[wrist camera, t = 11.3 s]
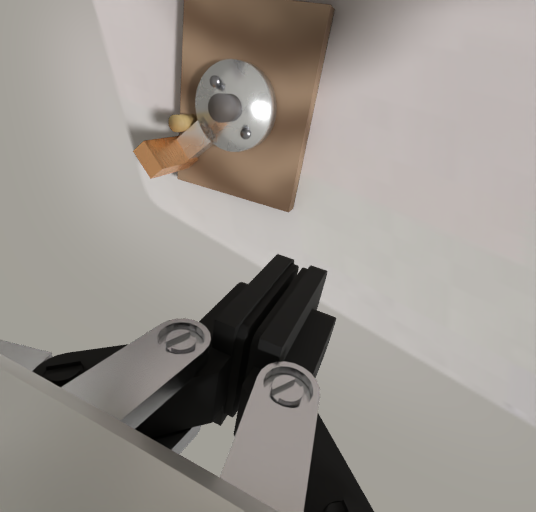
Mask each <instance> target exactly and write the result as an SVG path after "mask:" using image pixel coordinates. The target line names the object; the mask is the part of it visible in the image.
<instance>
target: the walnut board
mask: <svg viewBox="0 0 536 512" xmlns="http://www.w3.org/2000/svg"><path fill="white" fill-rule="evenodd" d="M334 10H335V9H334V8H333V7H332V6H331V5H329V4H320V3H311V2H303V1H294V0H184V16H183V44H182V71H181V98H180V115H172V116H170V118H169V127H170V129H171V130H172V131H174V132H179V136H181V135H182V134H183V133H184V132H185V131H186V130H187V129H188V128H190V127H191V126H192V125H193V124H194V123H195V122H196V121H197V120H198V119H197V115H196V108H195V98H196V91H197V87H198V85H199V82H200V80H201V78H202V76H203V75H204V73H205V72H206V71H207V70H208V69H209V68H210V67H211V66H212V65H214V64H215V63H217V62H219V61H222V60H226V59H236V60H241V61H245V62H248V63H251V64H253V65H255V66H256V67H258V68H259V69H260V70H262V71H263V72H264V74H265V75H266V76H267V77H268V79H269V80H270V82H271V84H272V86H273V89H274V92H275V96H276V103H277V112H276V118H275V123H274V125H273V128H272V130H271V132H270V134H269V135H268V136H267V138H266V139H265V140H264V141H263V142H262V143H261V144H259V145H258V146H256V147H254V148H252V149H248V150H244V151H240V152H230V151H226V150H223V149H221V148H219V147H217V146H216V145H214V144H213V145H212V146H211V147H209V148H208V149H207V150H206V151H204V152H203V153H202V154H201V155H200V156H198V157H197V158H198V161H197V162H195V163H194V164H193V165H192V166H190V167H189V168H187V169H184V170H180V171H178V179H180V180H183V181H186V182H190V183H193V184H196V185H200V186H203V187H206V188H210V189H213V190H216V191H220V192H223V193H226V194H230V195H233V196H236V197H240V198H243V199H246V200H249V201H253V202H256V203H259V204H263V205H266V206H269V207H273V208H276V209H279V210H283V211H286V212H289V211H291V210H292V209H293V207H294V202H295V197H296V192H297V187H298V183H299V178H300V173H301V168H302V163H303V159H304V154H305V149H306V144H307V139H308V135H309V130H310V125H311V120H312V115H313V111H314V106H315V101H316V96H317V91H318V87H319V82H320V77H321V72H322V67H323V62H324V58H325V53H326V48H327V43H328V38H329V34H330V29H331V24H332V19H333V14H334ZM208 112H209V114H210V116H211V118H212V119H213V120H214V121H216V122H219V123H223V122H233V121H236V120H237V119H238V118H239V117H240V115H241V112H242V105H241V102H240V100H239V98H238V97H237V96H235V95H234V94H225V93H217V94H214V95H213V96H212V97H211V98H210V100H209V102H208Z"/></svg>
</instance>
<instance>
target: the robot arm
mask: <svg viewBox="0 0 536 512" xmlns="http://www.w3.org/2000/svg"><path fill="white" fill-rule="evenodd" d="M298 268H299V267H298V266H297V265H295V264H294V260H293V259H290V258H288V257H285V256H282V255H279V254H277V255H276V256H275V257H274V258H273V259H272V260H271V261H270V262H269V263H268V264H267V265H266V266H265V267H264V268H263V270H262V271H261V272H260V273H259V274H258V275H257V276H256V277H255V278H254V279H253V280H252V281H251V282H250V283H249V284H246V283H243V282H240V283H239V284H237V285H236V286H235V287H234V288H233V289H232V290H231V291H230V292H229V293H228V294H227V295H226V296H225V297H224V298H223V299H222V300H221V301H220V302H219V303H218V304H217V305H216V306H215V307H214V308H213V309H212V310H211V311H210V312H209V313H207V314H206V315H205V316H204V317H203V318H202V319H201V320H200V321H199V322H197V321H195V320H191V319H173V320H169V321H166V322H164V323H162V324H160V325H158V326H157V327H155V328H154V329H152V330H150V331H149V332H147V333H146V334H144V335H142V336H141V337H139V338H138V339H136V340H135V341H133V342H132V343H130V344H128V345H120V346H113V347H107V348H99V349H91V350H84V351H77V352H70V353H65V354H61V355H57V356H54V357H52V353H51V352H48V351H44V350H39V349H35V348H32V347H27V346H24V345H19V344H15V343H11V342H7V341H3V340H0V512H374V511H373V509H372V508H371V505H370V504H369V502H368V500H367V498H366V497H365V495H364V493H363V491H362V490H361V488H360V486H359V484H358V483H357V481H356V479H355V477H354V476H353V474H352V472H351V470H350V468H349V467H348V465H347V463H346V461H345V460H344V458H343V456H342V454H341V453H340V451H339V449H338V448H337V446H336V444H335V442H334V440H333V439H332V437H331V435H330V433H329V432H328V430H327V428H326V426H325V424H324V423H323V421H322V419H321V418H320V416H319V414H318V407H319V400H320V387H319V385H318V383H317V380H316V379H315V378H316V375H317V373H318V370H319V368H320V365H321V362H322V360H323V357H324V354H325V352H326V349H327V346H328V343H329V340H330V337H331V334H332V331H333V328H334V325H335V321H336V318H335V317H333V316H330V315H328V314H325V313H322V312H320V311H317V307H318V304H319V300H320V297H321V293H322V290H323V286H324V283H325V279H326V276H327V271H326V270H323V269H320V268H317V267H314V266H310V267H309V268H308V269H306V268H302V269H301V270H300V272H299V273H298ZM297 273H298V275H297ZM237 411H238V413H237V419H236V425H235V431H234V436H235V438H234V441H233V443H232V446H231V448H230V451H229V454H228V457H227V459H226V462H225V465H224V467H223V470H222V473H221V475H220V478H219V477H217V476H216V475H214V474H212V473H210V472H209V471H207V470H205V469H204V468H202V467H200V466H198V465H196V464H195V463H193V462H191V461H189V460H188V459H186V458H184V457H183V456H181V455H179V454H180V453H181V452H182V451H183V450H184V449H185V447H186V446H187V445H188V444H189V443H190V442H191V441H192V440H193V439H194V438H195V437H196V435H197V434H198V432H199V431H200V427H201V425H204V424H208V423H212V422H214V423H216V424H219V425H220V426H221V424H222V423H223V421H224V420H225V418H226V416H227V415H229V416H231V417H233V416H234V415H235V414H236V412H237Z"/></svg>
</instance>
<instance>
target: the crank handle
mask: <svg viewBox="0 0 536 512" xmlns="http://www.w3.org/2000/svg"><path fill="white" fill-rule="evenodd" d="M217 93H225V94H234V95H235V96H237V97H238V98H239V100H240V102H241V105H242V112H241V115H240V117H239V118H238V119H237V120H236V121H233V122H223V123H219V122H216V121H214V120H213V119H212V118H211V116H210V114H209V112H208V102H209V100H210V98H211V97H212V96H213V95H214V94H217ZM195 108H196V115H197V119H198V120H197V121H196V122H195V123H194V124H193V125H192V126H191V127H190V128H188V129H187V130H186V131H185V132H184V133H183V134H182V135H181V136H175V137H168V138H160V139H153V140H146V141H143V142H142V143H141V144H140V145H139V146H138V147H137V148H136V149H135V150H134V151H133V152H134V153H135V155H136V157H137V158H138V160H139V161H140V163H141V164H142V166H143V167H144V169H145V170H146V172H147V174H148V175H149V177H150V178H155V177H159V176H162V175H166V174H169V173H173V172H177V171H180V170H184V169H187V168H189V167H190V166H192V165H193V164H194V163H195V162H197V161H198V158H197V157H198V156H200V155H201V154H202V153H203V152H204V151H206V150H207V149H208V148H209V147H211V146H212V145H213V144H214V145H216V146H217V147H219V148H221V149H223V150H226V151H230V152H240V151H244V150H248V149H252V148H254V147H256V146H258V145H259V144H261V143H262V142H263V141H264V140H265V139H266V138H267V136H268V135H269V134H270V132H271V130H272V128H273V125H274V123H275V118H276V112H277V103H276V96H275V92H274V89H273V86H272V84H271V82H270V80H269V79H268V77H267V76H266V75H265V74H264V72H263V71H262V70H260V69H259V68H258V67H256V66H255V65H253V64H251V63H248V62H245V61H241V60H236V59H226V60H222V61H219V62H217V63H215V64H214V65H212V66H211V67H210V68H209V69H208V70H207V71H206V72H205V73H204V75H203V76H202V78H201V80H200V82H199V85H198V87H197V91H196V98H195Z"/></svg>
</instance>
